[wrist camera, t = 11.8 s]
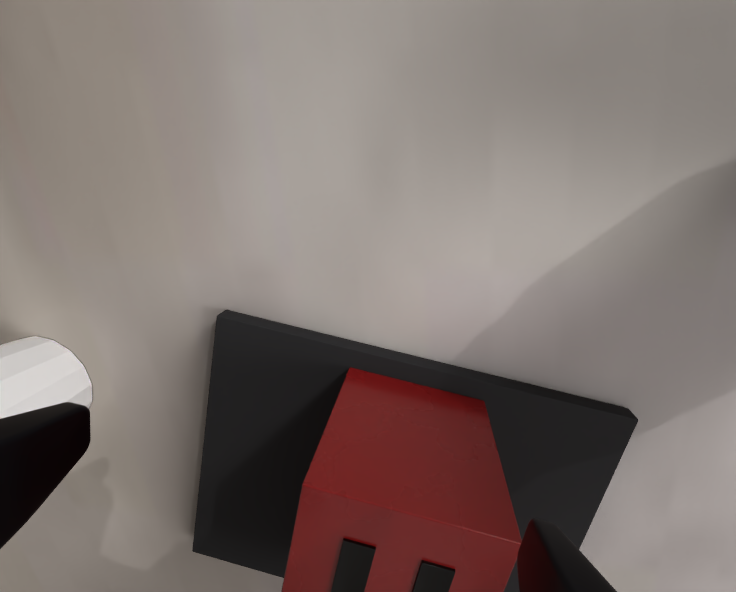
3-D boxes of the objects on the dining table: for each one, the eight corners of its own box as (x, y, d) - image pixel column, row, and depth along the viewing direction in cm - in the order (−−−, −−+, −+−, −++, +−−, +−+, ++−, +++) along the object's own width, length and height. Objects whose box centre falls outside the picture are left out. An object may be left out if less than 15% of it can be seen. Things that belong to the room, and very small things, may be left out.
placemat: (628, 408, 20) (639, 420, 19) (528, 631, 24) (532, 650, 23) (226, 309, 21) (216, 315, 20) (200, 537, 25) (191, 551, 24)
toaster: (418, 602, 23) (415, 814, 15) (306, 569, 24) (248, 760, 16) (484, 400, 19) (524, 547, 12) (349, 366, 20) (301, 486, 12)
